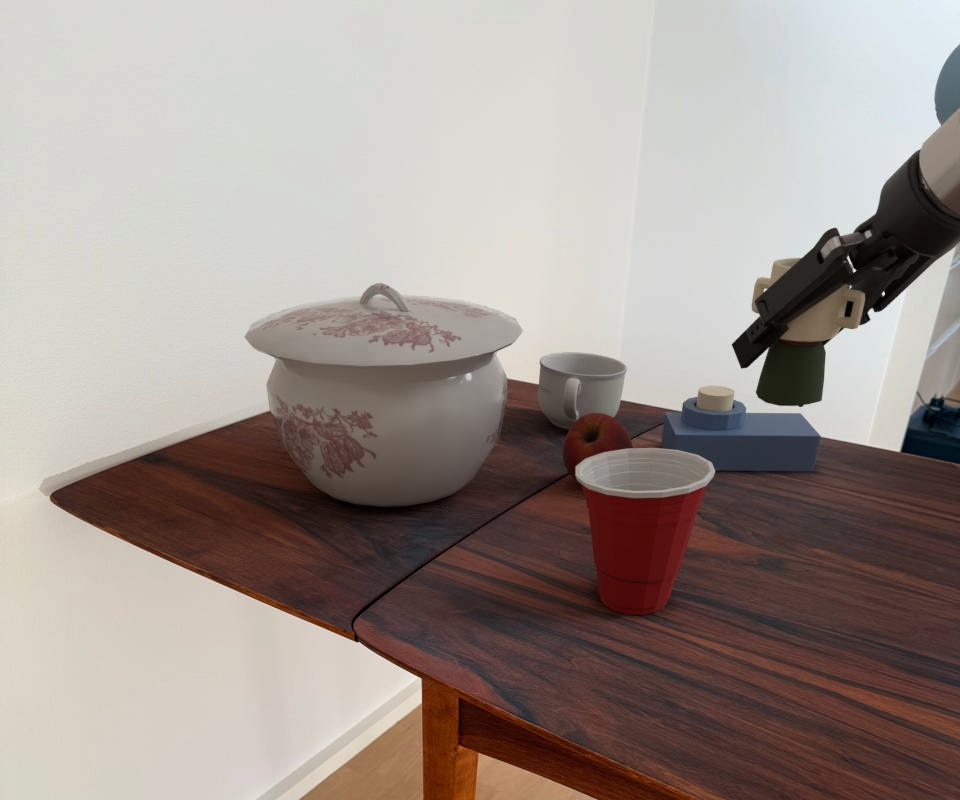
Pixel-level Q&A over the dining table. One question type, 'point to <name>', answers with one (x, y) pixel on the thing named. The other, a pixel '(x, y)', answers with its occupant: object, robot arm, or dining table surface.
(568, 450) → the apple
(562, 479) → the dining table surface
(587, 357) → the teacup
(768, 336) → the robot arm
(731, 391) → the button
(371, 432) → the chamber pot
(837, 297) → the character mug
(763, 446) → the blue rectangular block
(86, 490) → the dining table surface
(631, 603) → the plastic cup
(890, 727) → the dining table surface
